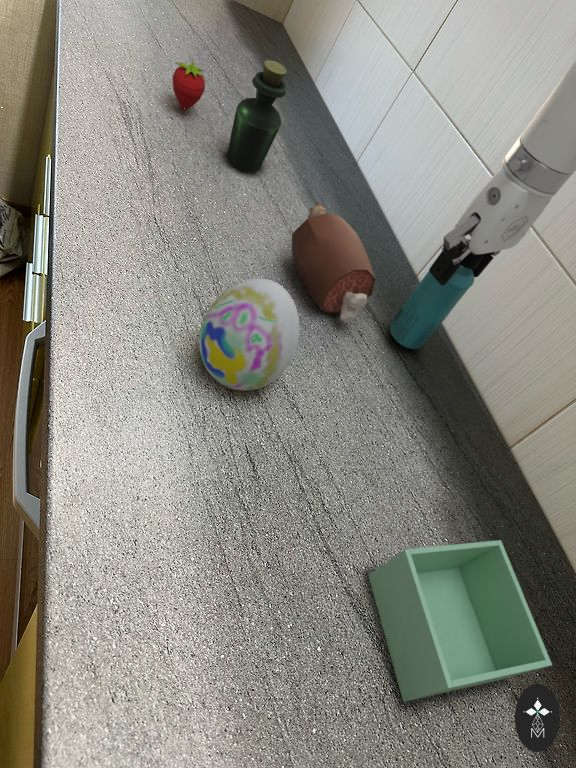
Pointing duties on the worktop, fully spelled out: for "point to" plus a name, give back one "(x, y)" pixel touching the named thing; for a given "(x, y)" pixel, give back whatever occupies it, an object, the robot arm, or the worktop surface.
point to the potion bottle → (257, 120)
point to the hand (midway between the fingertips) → (453, 273)
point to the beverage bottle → (432, 303)
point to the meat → (332, 264)
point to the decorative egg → (250, 335)
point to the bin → (455, 618)
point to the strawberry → (188, 85)
